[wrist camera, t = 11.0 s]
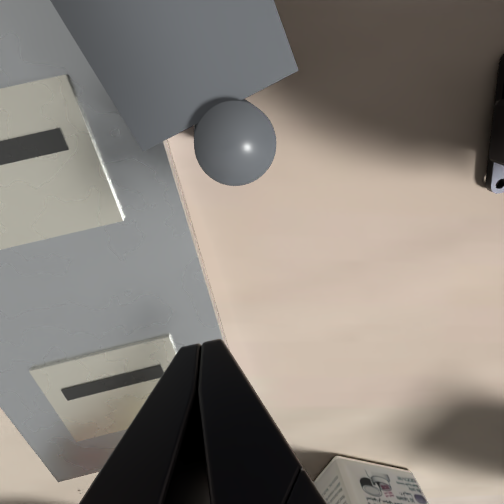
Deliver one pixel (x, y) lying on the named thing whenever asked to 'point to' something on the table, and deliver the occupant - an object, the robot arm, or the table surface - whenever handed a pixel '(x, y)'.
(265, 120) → the swing bar
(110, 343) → the panel
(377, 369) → the table surface
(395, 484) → the container
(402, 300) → the table surface
